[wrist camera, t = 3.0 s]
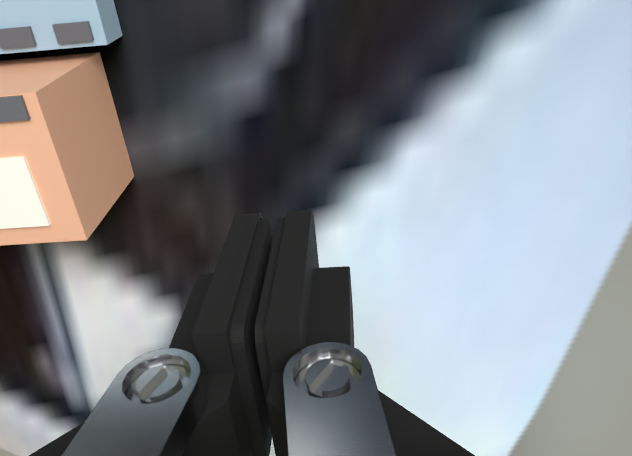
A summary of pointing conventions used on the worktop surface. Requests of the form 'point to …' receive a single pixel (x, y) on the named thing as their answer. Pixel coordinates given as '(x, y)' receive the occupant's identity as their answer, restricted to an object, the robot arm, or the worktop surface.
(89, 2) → the blue microchip card
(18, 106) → the cardboard box
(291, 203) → the worktop surface
